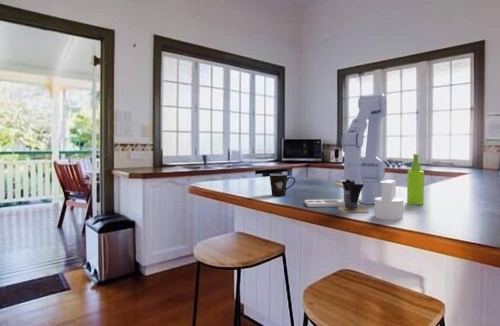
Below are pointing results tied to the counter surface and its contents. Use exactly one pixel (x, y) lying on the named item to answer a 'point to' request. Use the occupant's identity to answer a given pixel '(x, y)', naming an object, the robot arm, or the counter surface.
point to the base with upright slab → (388, 202)
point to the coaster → (352, 210)
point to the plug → (349, 201)
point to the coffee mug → (279, 184)
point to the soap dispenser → (415, 183)
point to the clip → (339, 185)
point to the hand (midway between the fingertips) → (352, 201)
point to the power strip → (326, 202)
